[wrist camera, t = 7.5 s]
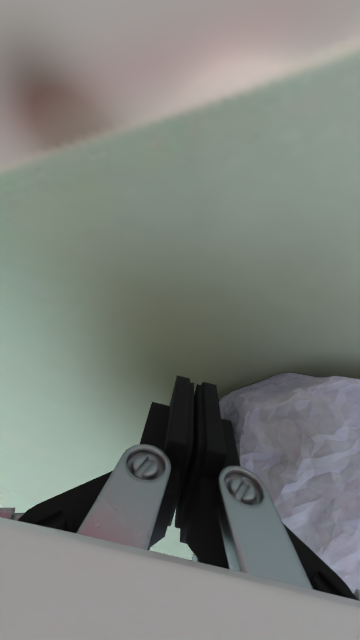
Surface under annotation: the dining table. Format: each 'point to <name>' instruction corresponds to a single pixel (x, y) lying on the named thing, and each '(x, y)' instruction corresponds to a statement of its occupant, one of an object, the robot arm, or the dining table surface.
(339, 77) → the dining table surface
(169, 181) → the dining table surface
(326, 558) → the stone block
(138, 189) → the dining table surface
